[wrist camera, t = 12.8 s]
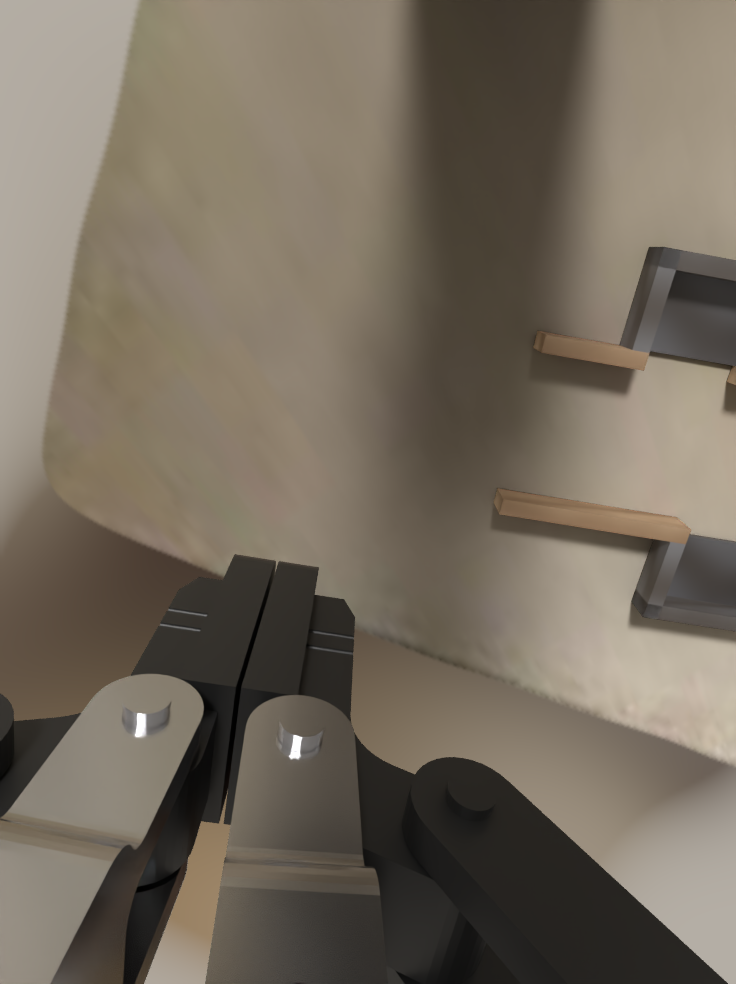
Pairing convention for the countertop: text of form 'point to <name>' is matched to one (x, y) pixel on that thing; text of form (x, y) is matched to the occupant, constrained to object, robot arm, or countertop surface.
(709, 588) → the trap runway
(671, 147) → the countertop surface
